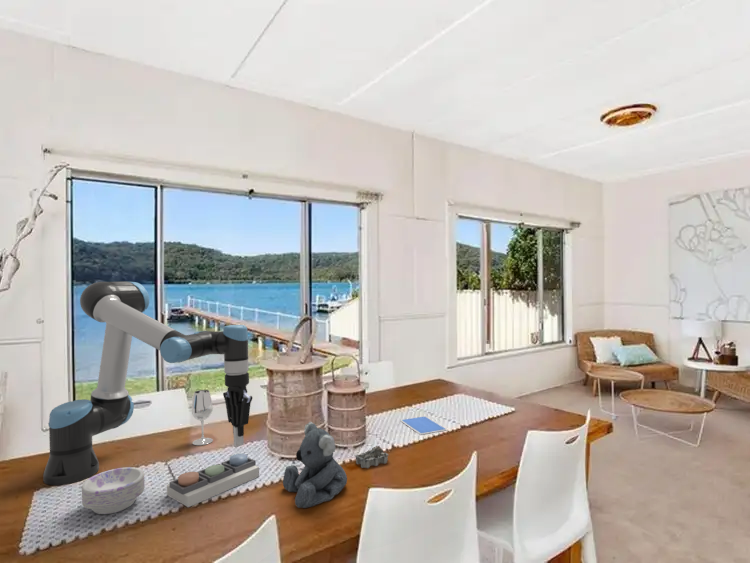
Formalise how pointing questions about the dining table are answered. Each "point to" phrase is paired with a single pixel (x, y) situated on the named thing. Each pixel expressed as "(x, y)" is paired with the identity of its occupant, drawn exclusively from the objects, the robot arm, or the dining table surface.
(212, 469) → the button sage
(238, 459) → the button slate
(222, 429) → the dining table surface
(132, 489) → the paper bowls
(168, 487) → the console
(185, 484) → the button terracotta
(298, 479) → the koala plush
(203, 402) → the wineglass
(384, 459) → the egg carton
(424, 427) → the tablet computer
